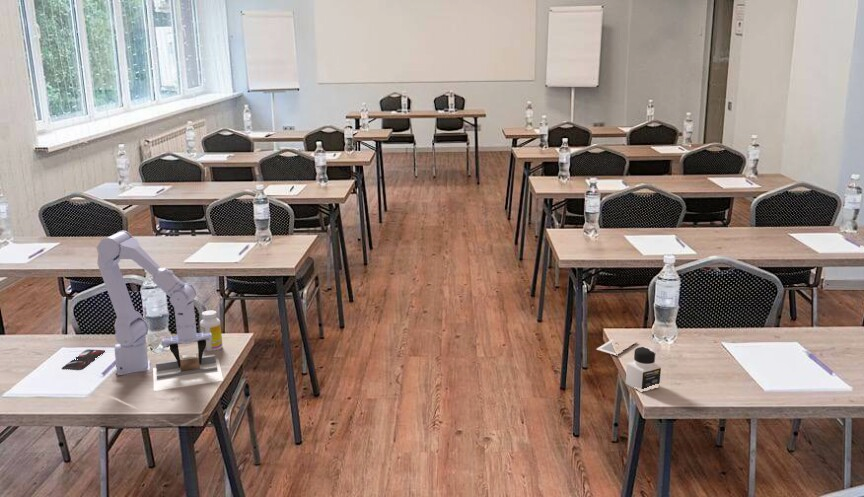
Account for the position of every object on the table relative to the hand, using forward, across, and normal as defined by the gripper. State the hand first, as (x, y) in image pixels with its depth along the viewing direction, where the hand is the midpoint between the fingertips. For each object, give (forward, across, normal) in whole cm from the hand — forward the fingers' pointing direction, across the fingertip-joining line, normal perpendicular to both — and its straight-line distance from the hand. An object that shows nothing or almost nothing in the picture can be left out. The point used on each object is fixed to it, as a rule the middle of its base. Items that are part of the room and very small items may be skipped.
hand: (189, 364), depth 235 cm
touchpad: (+3, +136, -31) cm, 140 cm away
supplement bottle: (+3, +8, +16) cm, 19 cm away
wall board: (+2, -1, -3) cm, 4 cm away
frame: (+1, 0, 0) cm, 1 cm away
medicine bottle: (+3, +127, -58) cm, 140 cm away
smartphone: (+3, -32, +22) cm, 39 cm away
